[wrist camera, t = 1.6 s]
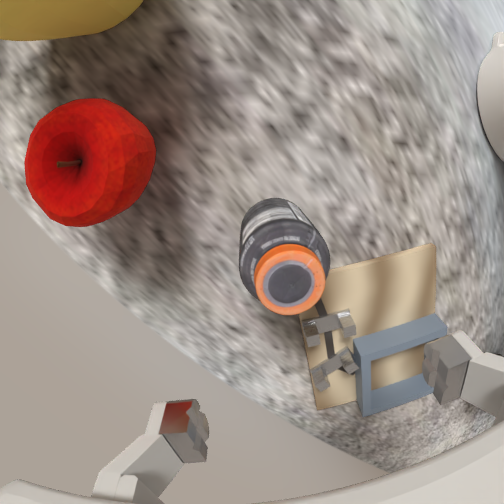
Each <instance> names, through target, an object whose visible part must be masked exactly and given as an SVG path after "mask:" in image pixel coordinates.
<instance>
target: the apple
mask: <svg viewBox="0 0 504 504" xmlns="http://www.w3.org/2000/svg"><path fill="white" fill-rule="evenodd" d="M155 156H156V148H155V143H154V139H153V137H152V135H151V134H150V132H149V130H148V129H147V127H146V126H145V125H144V124H143V123H142V122H140V121H139V120H138V119H137V118H135V117H134V116H133V115H132V114H130V113H129V112H128V111H127V110H125V109H124V108H123V107H121V106H119V105H117V104H115V103H113V102H111V101H109V100H106V99H95V98H89V99H77V100H74V101H71V102H69V103H66V104H64V105H61V106H59V107H57V108H55V109H54V110H52V111H51V112H50V113H48V114H47V115H46V116H44V117H43V118H42V119H40V120H39V122H38V123H37V125H36V126H35V128H34V130H33V131H32V133H31V135H30V139H29V143H28V148H27V152H26V157H25V176H26V185H27V187H28V189H29V191H30V193H31V195H32V198H33V199H34V200H35V201H36V203H37V204H38V205H39V206H40V207H41V209H42V210H43V211H44V212H45V213H46V214H47V216H48V217H49V218H50V219H52V220H54V221H56V222H58V223H60V224H63V225H65V226H73V227H86V226H90V225H94V224H97V223H101V222H103V221H105V220H108V219H110V218H112V217H114V216H115V215H117V214H119V213H121V212H122V211H124V210H126V209H128V208H129V207H130V206H131V205H132V204H133V203H134V202H135V201H136V200H137V199H138V198H139V197H140V196H141V194H142V192H143V191H144V189H145V187H146V185H147V184H148V182H149V180H150V177H151V173H152V170H153V167H154V164H155Z"/></svg>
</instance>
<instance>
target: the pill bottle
mask: <svg viewBox="0 0 504 504" xmlns="http://www.w3.org/2000/svg"><path fill="white" fill-rule="evenodd" d="M329 269H330V254H329V250H328V247H327V245H326V242H325V241H324V239H323V237H322V236H321V235H320V233H319V232H318V230H317V229H316V228H315V227H314V225H313V224H312V223H311V222H310V220H309V219H308V218H307V217H306V216H305V214H304V213H303V212H302V211H301V209H300V208H299V207H297V206H296V205H295V204H294V203H292V202H290V201H288V200H285V199H281V198H270V199H266V200H263V201H260V202H258V203H256V204H255V205H254V206H252V207H251V208H250V209H249V210H248V212H247V213H246V215H245V216H244V219H243V221H242V225H241V232H240V250H239V271H240V276H241V279H242V281H243V284H244V285H245V287H246V289H247V290H248V291H249V292H250V293H251V294H252V295H253V296H254V297H255V298H256V299H258V300H259V301H261V303H262V304H263V305H264V306H265V307H266V308H267V309H269V310H270V311H272V312H275V313H278V314H281V315H295V314H300V313H302V312H304V311H307V310H308V309H310V308H311V307H313V306H314V305H315V304H316V303H317V302H318V301H319V299H320V298H321V296H322V294H323V292H324V289H325V283H326V279H327V277H328V273H329Z"/></svg>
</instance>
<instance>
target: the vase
mask: <svg viewBox="0 0 504 504" xmlns="http://www.w3.org/2000/svg"><path fill="white" fill-rule="evenodd" d="M142 2H143V0H0V39H3V40H11V41H36V40H49V39H59V38H67V37H74V36H81V35H90V34H97V33H100V32H102V31H105V30H107V29H110V28H113V27H114V26H116V25H117V24H119V23H120V22H122V21H123V20H125V19H127V18H128V17H129V16H130V15H131V14H132V13H133V12H134V11H135V10H136V9H137V8H138V7H139V6H140V5H141V3H142Z"/></svg>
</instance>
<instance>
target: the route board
mask: <svg viewBox="0 0 504 504" xmlns="http://www.w3.org/2000/svg"><path fill="white" fill-rule="evenodd" d="M435 296H436V246H435V245H433V244H432V243H430V244H426V245H422V246H419V247H415V248H411V249H408V250H404V251H400V252H397V253H393V254H389V255H385V256H382V257H378V258H374V259H370V260H366V261H362V262H359V263H355V264H351V265H347V266H343V267H339V268H335V269H331V270H329V273H328V277H327V279H326V283H325V289H324V292H323V294H322V296H321V298H320V299H319V301H318V302H317V303H316V304H315V305H314V306H313V307H311V308H310V309H308V310H307V311H304V312H302V313H300V314H299V319H300V324H301V329H302V334H303V339H304V344H305V349H306V354H307V359H308V364H309V369H311V368H313V367H314V366H316V365H318V364H319V363H321V362H322V361H324V360H325V359H327V358H330V357H331V356H333V355H335V353H336V352H338V351H339V350H341V349H342V348H344V347H345V346H347V347H348V348H349V349H350V350H351V352H352V353H353V354H354V350H353V339H355V338H358V337H362V336H365V335H369V334H372V333H375V332H379V331H382V330H385V329H388V328H392V327H395V326H398V325H401V324H404V323H407V322H410V321H413V320H416V319H419V318H422V317H425V316H428V315H431V314H433V313H435ZM348 308H349V310H350V315H351V317H352V319H353V320H354V322H355V324H356V334H357V335H354V336H350V337H347V338H344V336H343V334H342V331H341V329H340V328H339V329H336V330H332V331H328V332H324V333H320V334H319V336H320V343H321V344H320V345H316V346H312V347H308V345H307V341H306V337H305V336H304V332H303V327H302V322H301V320H305V319H309V318H313V317H317V316H319V317H320V316H324V315H328V314H329V313H333V312H337V311H341V310H344V309H348ZM424 346H425V343H423V344H420V345H418V346H415V347H412V348H409V349H406V350H403V351H400V352H397V353H394V354H391V355H388V356H385V357H382V358H379V359H375V360H372V361H371V391H372V390H375V389H378V388H381V387H384V386H387V385H390V384H393V383H396V382H399V381H402V380H405V379H408V378H410V377H413V376H416V375H419V374H421V373H422V362H423V360H424V353H423V352H424ZM310 375H311V380H312V385H313V391H314V396H315V402H316V407H317V410H321V409H325V408H329V407H333V406H337V405H341V404H345V403H348V402H352V401H355V400H357V397H356V378H355V371H354V372H353V373H351V374H350V375H349V374H348V373H347V371H346V370H345V369H344V367H343V366H341V367H340V368H338V369H337V370H335V371H333V372H332V373H330V374H328V375H327V376H328V379H329V383H330V387H328V388H327V389H325V390H323V391H322V392H321V391H320V390H318V389H317V388H316V387H315V384H314V380H313V376H312V373H310Z"/></svg>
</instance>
